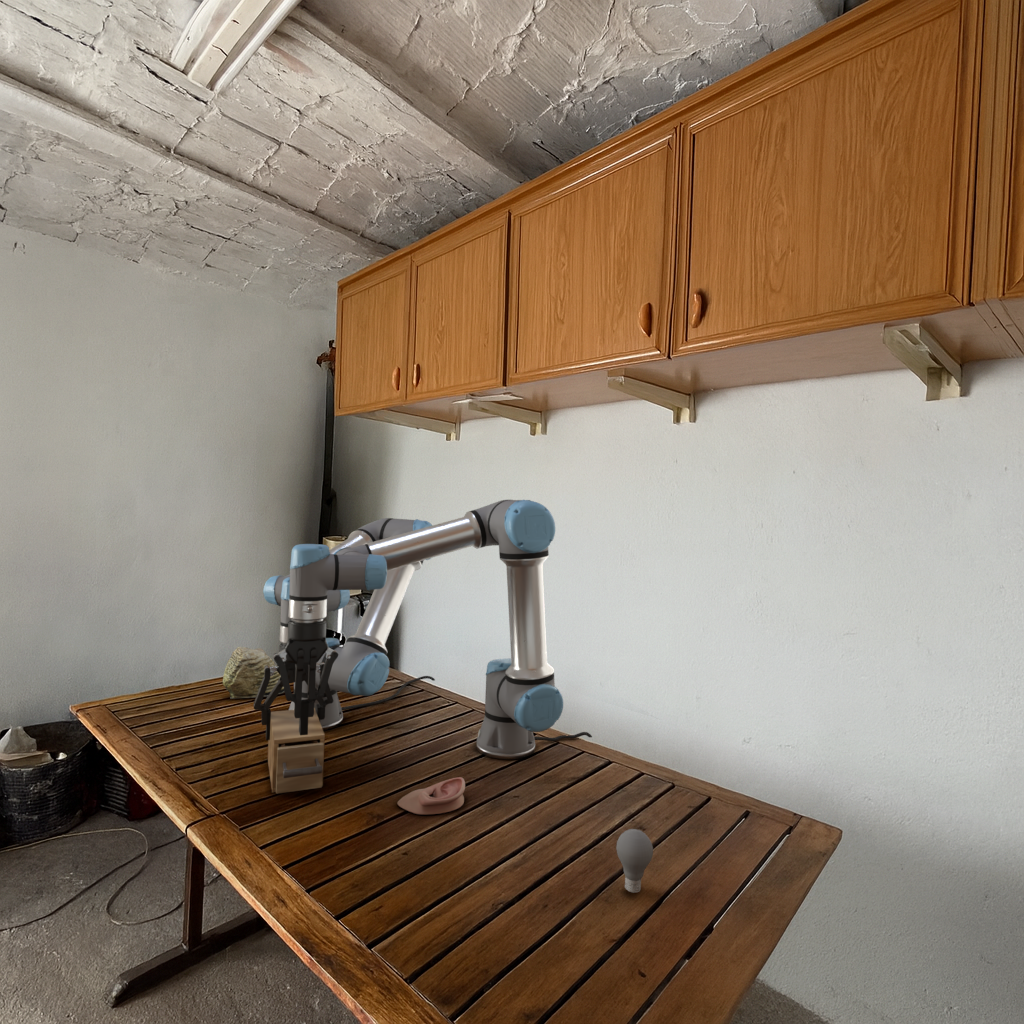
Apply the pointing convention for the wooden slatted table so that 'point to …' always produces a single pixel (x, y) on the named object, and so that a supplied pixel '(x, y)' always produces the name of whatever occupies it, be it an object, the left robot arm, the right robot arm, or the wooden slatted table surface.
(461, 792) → the anatomical model
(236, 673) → the fossil
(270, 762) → the cabinet
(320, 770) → the drawer
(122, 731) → the wooden slatted table surface
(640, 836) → the light bulb
